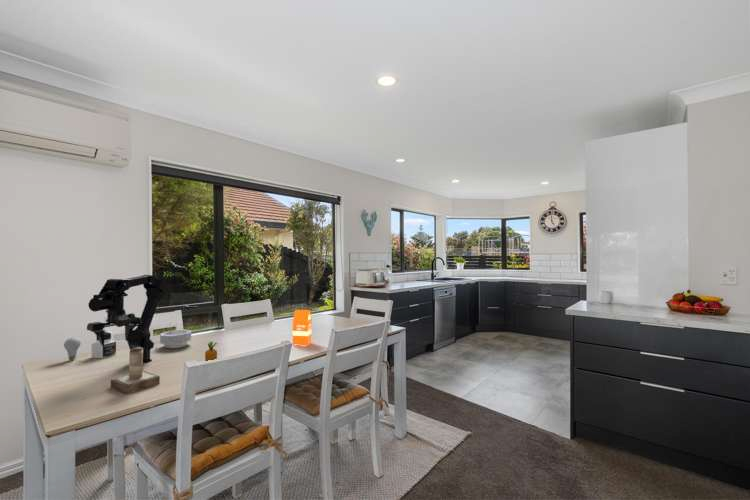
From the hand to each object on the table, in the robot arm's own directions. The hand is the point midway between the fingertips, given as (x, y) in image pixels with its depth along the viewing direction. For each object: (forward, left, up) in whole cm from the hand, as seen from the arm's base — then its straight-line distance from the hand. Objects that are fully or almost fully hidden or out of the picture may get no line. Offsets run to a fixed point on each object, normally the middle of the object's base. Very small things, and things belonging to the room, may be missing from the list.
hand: (115, 343), depth 152 cm
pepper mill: (+3, +23, -10) cm, 25 cm away
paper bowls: (-38, -18, -13) cm, 44 cm away
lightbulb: (+2, -36, -13) cm, 38 cm away
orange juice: (-78, +39, -13) cm, 88 cm away
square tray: (+3, +23, -13) cm, 27 cm away
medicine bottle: (-9, -31, -13) cm, 35 cm away
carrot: (-19, +39, -13) cm, 45 cm away
